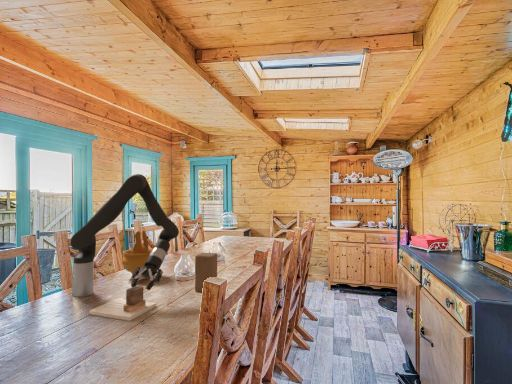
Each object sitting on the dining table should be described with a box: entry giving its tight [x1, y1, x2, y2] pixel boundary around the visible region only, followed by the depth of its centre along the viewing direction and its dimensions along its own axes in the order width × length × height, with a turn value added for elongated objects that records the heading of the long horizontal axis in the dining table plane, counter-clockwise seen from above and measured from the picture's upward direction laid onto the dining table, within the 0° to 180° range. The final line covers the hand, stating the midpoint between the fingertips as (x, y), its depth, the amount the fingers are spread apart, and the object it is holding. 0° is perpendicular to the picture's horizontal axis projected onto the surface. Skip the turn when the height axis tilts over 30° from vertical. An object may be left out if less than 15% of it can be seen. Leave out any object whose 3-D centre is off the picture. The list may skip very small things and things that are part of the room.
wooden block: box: [194, 252, 218, 293], centre depth 171 cm, size 10×10×20 cm
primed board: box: [88, 297, 157, 322], centre depth 141 cm, size 22×18×2 cm
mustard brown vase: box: [121, 229, 154, 281], centre depth 196 cm, size 21×21×30 cm
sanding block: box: [124, 285, 147, 312], centre depth 139 cm, size 5×9×9 cm, turn 162°
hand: (140, 288), depth 142 cm, fingers open, 8 cm apart
